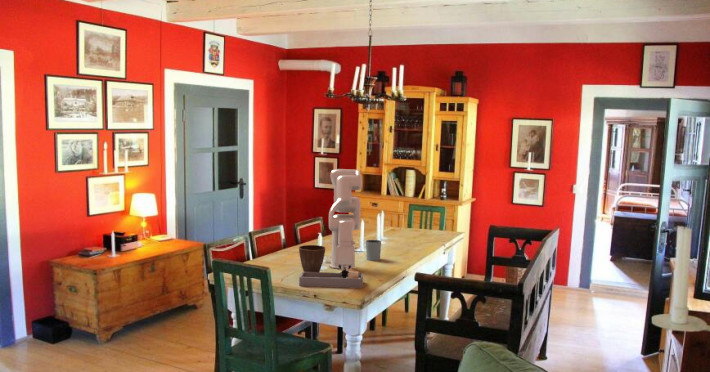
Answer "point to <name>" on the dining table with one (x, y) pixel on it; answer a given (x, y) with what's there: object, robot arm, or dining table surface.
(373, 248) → the grey tapered cup
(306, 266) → the plant pot
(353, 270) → the sunglasses case
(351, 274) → the maple block
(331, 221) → the robot arm
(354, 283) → the eyeshadow palette tray
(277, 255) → the dining table surface
